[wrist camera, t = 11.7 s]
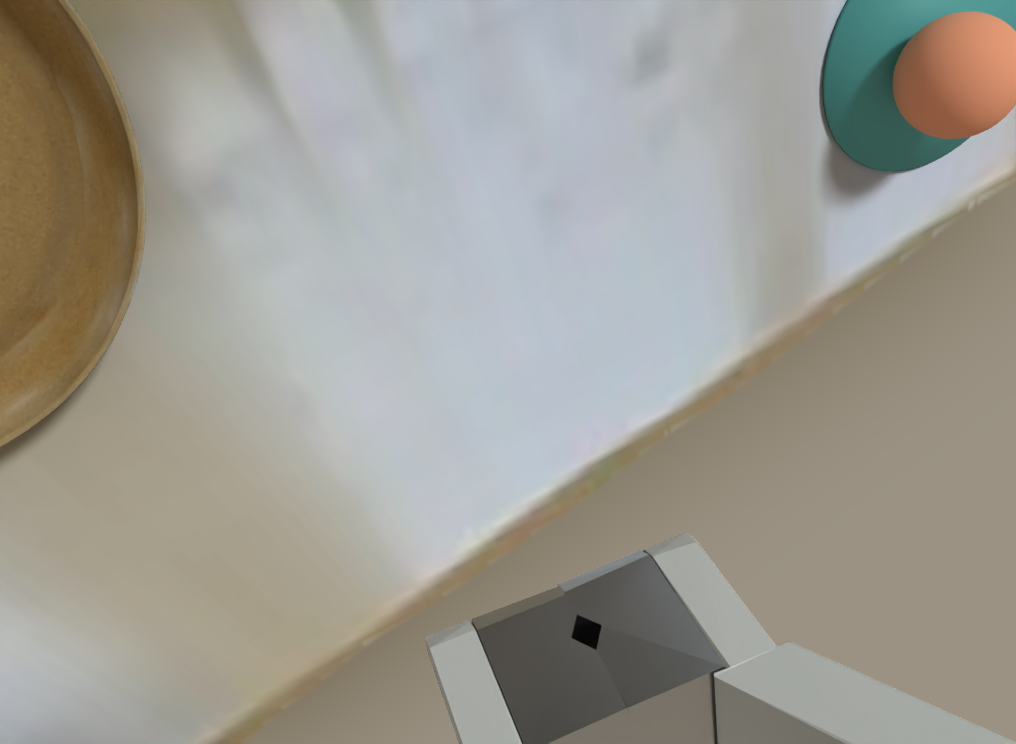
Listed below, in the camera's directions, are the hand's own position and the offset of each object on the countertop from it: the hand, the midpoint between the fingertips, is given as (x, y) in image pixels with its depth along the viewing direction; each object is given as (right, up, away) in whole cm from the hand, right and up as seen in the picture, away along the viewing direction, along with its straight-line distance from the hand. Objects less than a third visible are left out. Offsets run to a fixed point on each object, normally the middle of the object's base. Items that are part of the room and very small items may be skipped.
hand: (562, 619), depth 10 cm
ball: (+20, +16, +31) cm, 40 cm away
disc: (+20, +18, +33) cm, 43 cm away
